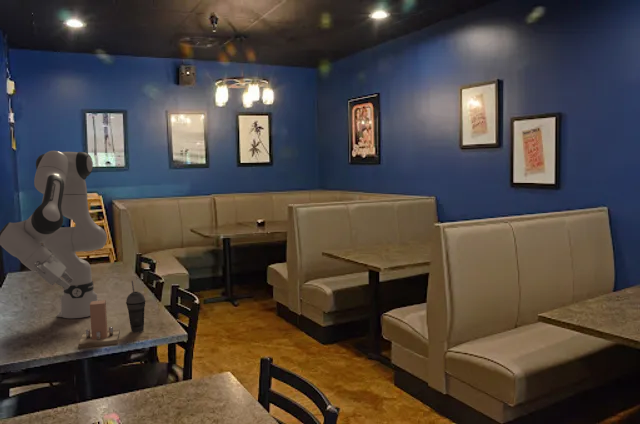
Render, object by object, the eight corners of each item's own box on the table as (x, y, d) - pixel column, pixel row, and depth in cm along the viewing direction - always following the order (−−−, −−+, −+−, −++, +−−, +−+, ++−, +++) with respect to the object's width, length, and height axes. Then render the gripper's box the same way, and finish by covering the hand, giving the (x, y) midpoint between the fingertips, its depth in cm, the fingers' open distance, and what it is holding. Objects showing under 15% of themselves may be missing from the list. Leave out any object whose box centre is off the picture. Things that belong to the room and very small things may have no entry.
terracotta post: (93, 335, 198) (91, 301, 196) (107, 333, 199) (105, 300, 198) (91, 339, 193) (89, 304, 192) (106, 337, 194) (104, 303, 193)
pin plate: (83, 337, 200) (82, 325, 200) (119, 333, 204) (119, 321, 204) (78, 348, 188) (77, 336, 188) (117, 343, 192) (116, 331, 191)
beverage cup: (138, 334, 202) (135, 283, 200) (123, 332, 204) (120, 282, 203) (151, 328, 209) (148, 279, 207) (136, 327, 211) (133, 278, 209)
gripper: (40, 258, 179) (73, 284, 183) (50, 248, 198) (79, 272, 202) (26, 272, 178) (59, 298, 182) (37, 261, 197) (67, 285, 201)
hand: (70, 284), depth 192 cm, fingers open, 8 cm apart
